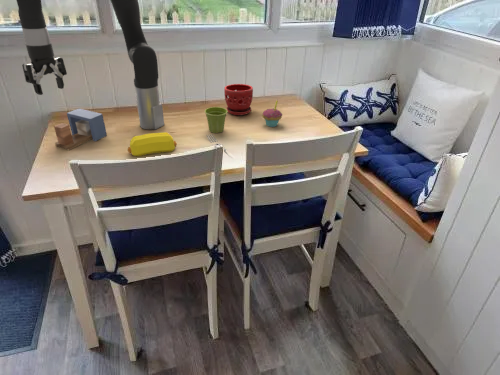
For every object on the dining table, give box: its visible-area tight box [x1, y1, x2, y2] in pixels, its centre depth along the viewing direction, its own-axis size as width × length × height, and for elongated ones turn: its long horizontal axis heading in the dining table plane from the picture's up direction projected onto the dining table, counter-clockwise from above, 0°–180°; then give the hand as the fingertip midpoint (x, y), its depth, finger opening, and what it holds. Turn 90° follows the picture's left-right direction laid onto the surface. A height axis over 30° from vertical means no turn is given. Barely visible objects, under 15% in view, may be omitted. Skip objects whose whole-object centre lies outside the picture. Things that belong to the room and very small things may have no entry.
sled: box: [53, 120, 93, 151], centre depth 139 cm, size 7×15×8 cm, turn 154°
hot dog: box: [127, 131, 177, 157], centre depth 134 cm, size 18×7×8 cm
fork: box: [206, 134, 227, 152], centre depth 138 cm, size 3×24×2 cm, turn 31°
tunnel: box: [66, 108, 108, 142], centre depth 143 cm, size 12×7×9 cm, turn 64°
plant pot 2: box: [224, 83, 254, 116], centre depth 169 cm, size 13×13×12 cm
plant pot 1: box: [204, 106, 229, 134], centre depth 150 cm, size 9×9×9 cm
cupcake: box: [261, 99, 283, 128], centre depth 156 cm, size 9×8×12 cm
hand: (50, 91), depth 127 cm, fingers open, 8 cm apart
